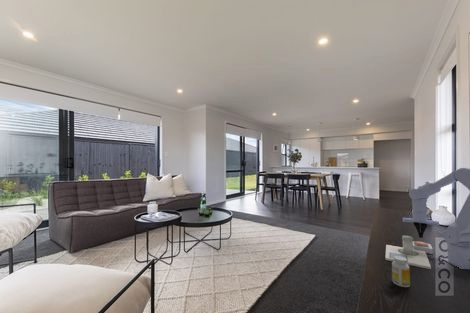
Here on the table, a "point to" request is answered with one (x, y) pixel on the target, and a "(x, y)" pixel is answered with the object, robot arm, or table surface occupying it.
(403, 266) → the supplement bottle
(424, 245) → the button
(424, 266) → the picture board
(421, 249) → the button box
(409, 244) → the marker
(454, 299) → the table surface
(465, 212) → the robot arm
